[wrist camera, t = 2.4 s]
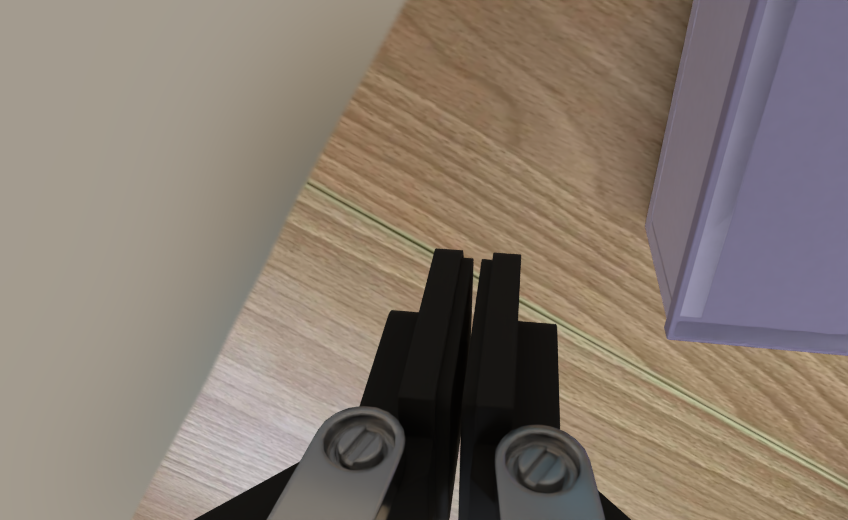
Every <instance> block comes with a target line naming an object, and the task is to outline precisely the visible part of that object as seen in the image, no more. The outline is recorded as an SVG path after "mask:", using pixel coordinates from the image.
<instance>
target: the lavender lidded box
mask: <svg viewBox="0 0 848 520" xmlns="http://www.w3.org/2000/svg"><path fill="white" fill-rule="evenodd" d="M645 229H646V233H647V237H648V241H649V246H650V250H651V254H652V258H653V263H654V267H655V271H656V275H657V279H658V284H659V288H660V292H661V296H662V301H663V305H664V309H665V313H666V318H667V319H666V323H665V327H664V328H665V333H666V337H667V339H669V340H679V341H690V342H701V343H713V344H724V345H735V346H746V347H757V348H768V349H779V350H790V351H801V352H812V353H823V354H834V355H845V356H848V0H693V4H692V9H691V14H690V18H689V23H688V28H687V32H686V37H685V41H684V46H683V51H682V55H681V60H680V65H679V69H678V74H677V79H676V83H675V88H674V93H673V97H672V102H671V107H670V111H669V116H668V121H667V125H666V130H665V135H664V139H663V144H662V149H661V153H660V158H659V163H658V167H657V172H656V177H655V181H654V186H653V191H652V195H651V200H650V205H649V209H648V214H647V219H646V223H645Z"/></svg>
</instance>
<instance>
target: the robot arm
mask: <svg viewBox="0 0 848 520" xmlns="http://www.w3.org/2000/svg"><path fill="white" fill-rule="evenodd" d="M520 269H521V255H519V254H506V253H493V260H487V259H482V262H481V269H480V276H479V283H478V290H477V297H476V304H475V312H474V319H473V326H472V333H471V318H472V290H473V258H464V255H463V250H450V249H437V248H436V249H435V251H434V255H433V259H432V263H431V267H430V271H429V275H428V279H427V283H426V287H425V291H424V294H423V298H422V302H421V306H420V310H419V312H408V311H396V310H391V311H390V313H389V315H388V318H387V321H386V324H385V327H384V331H383V334H382V337H381V340H380V343H379V346H378V350H377V353H376V356H375V359H374V362H373V365H372V369H371V372H370V375H369V378H368V381H367V384H366V388H365V391H364V394H363V397H362V400H361V403H360V406H359V407H352V408H348V409H345V410H342V411H340V412H337V413H335V414H334V415H333V416H331V417H330V418H328V419H327V420H326V421H325V422H324V423H323V424H322V426H321V427H320V428H319V429H318V431H317V433H316V434H315V436H314V438H313V440H312V441H311V443H310V445H309V447H308V448H307V450H306V452H305V454H304V455H303V457H302V459H301V460H300V462H298V463H296V464H295V465H293V466H291V467H289V468H287V469H285V470H284V471H282V472H280V473H278V474H276V475H274V476H273V477H271V478H269V479H267V480H265V481H264V482H262V483H260V484H258V485H256V486H254V487H253V488H251V489H249V490H247V491H245V492H243V493H242V494H240V495H238V496H236V497H234V498H233V499H231V500H229V501H227V502H225V503H223V504H222V505H220V506H218V507H216V508H214V509H212V510H211V511H209V512H207V513H205V514H203V515H201V516H200V517H198V518H196V519H194V520H449V518H450V511H451V504H452V496H453V489H454V482H455V474H456V467H457V459H458V452H459V444H460V437H461V446H460V481H459V517H458V520H631V519H630V518H629V517H627V516H626V515H625V514H624V513H623V512H622V511H621V510H620V509H618V508H617V507H616V506H615V505H614V504H613V503H612V502H611V501H609V500H608V499H607V498H606V497H605V496H604V495H603V494H602V493H600V492H599V491H598V489H597V486H596V482H595V478H594V474H593V470H592V466H591V462H590V460H589V457H588V455H587V453H586V451H585V449H584V448H583V447H582V446H581V444H580V443H579V442H578V441H577V440H576V439H575V438H573V437H572V436H570V435H569V434H567V433H566V432H564V431H562V430H560V408H559V374H558V340H557V325H556V324H547V323H535V322H523V321H518V309H519V289H520Z"/></svg>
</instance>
